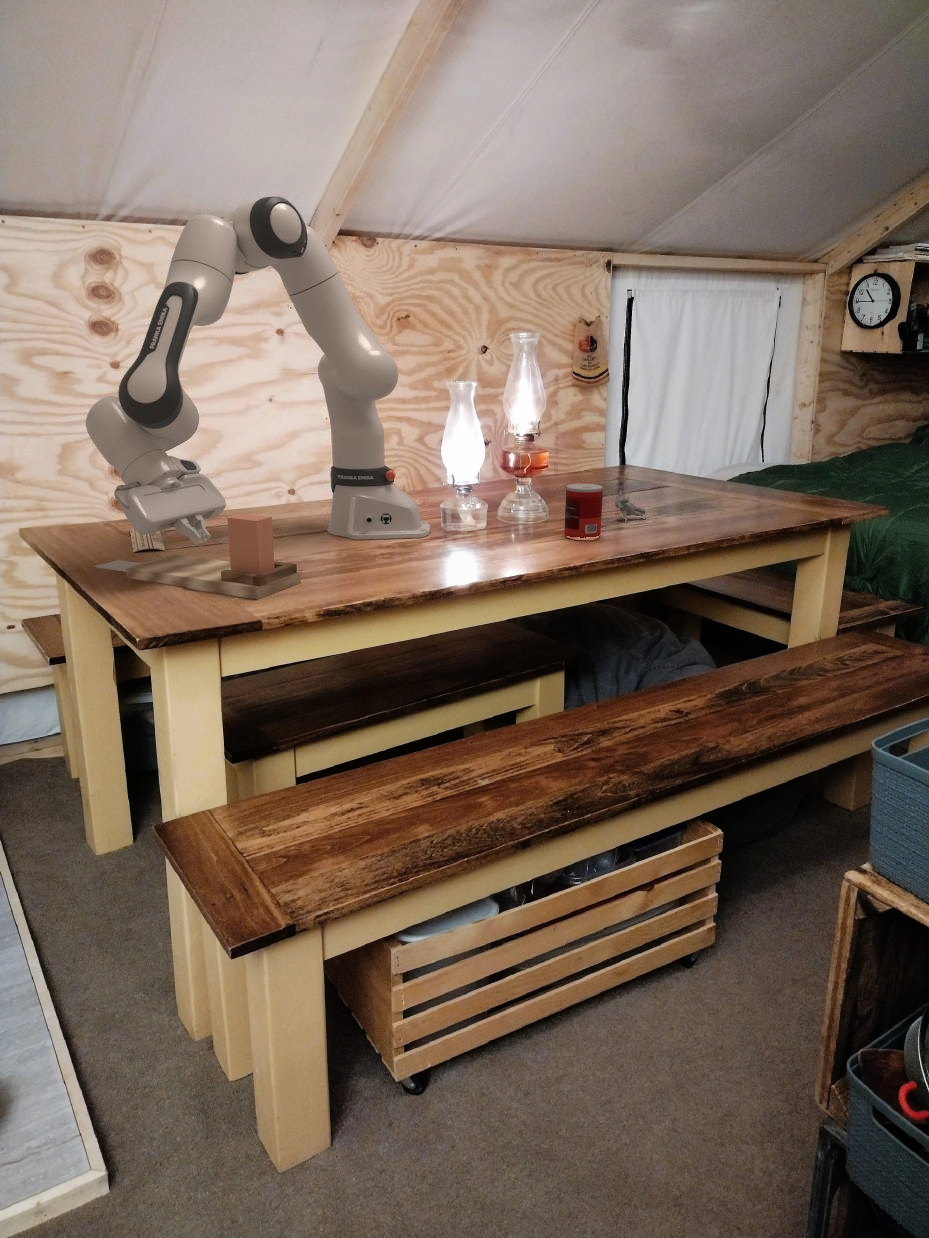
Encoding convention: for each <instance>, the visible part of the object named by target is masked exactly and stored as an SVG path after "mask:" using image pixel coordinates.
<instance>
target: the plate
mask: <svg viewBox="0 0 929 1238" xmlns="http://www.w3.org/2000/svg"><path fill="white" fill-rule="evenodd" d="M142 563H143V562H142ZM142 563H141V562H136V561H135V562H134V561H127V560H120V559H116V560H113V561H109V562H106V563H102V564H99V565H95V566H93V568H97V569H104V570H111V571H118V572H124V573H126V568H128V567H131V566H135V565H138V564H142Z"/></svg>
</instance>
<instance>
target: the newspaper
mask: <svg viewBox="0 0 929 1238" xmlns="http://www.w3.org/2000/svg"><path fill="white" fill-rule="evenodd" d="M130 535H131V536H130ZM129 536H130V540H131V548H132V553H135V554H136V553H138V552H140V551H141V552H142V551H144V550H159V551H161V552H163V551H166V549H165V546H164V542H163V538H162V534H161V531H158V532H154V533H150V534H146V535H142V534H140V533H138V532H137V531H136V530H135V529H134V528H133V527H131V528H129Z"/></svg>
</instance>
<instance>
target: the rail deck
mask: <svg viewBox="0 0 929 1238" xmlns="http://www.w3.org/2000/svg"><path fill="white" fill-rule="evenodd" d="M274 567H275V569H272V570H269V571H266V572H263V573H260V574H254V573H247V572H240V571H233V570H231V564H230V561H226V560H221V559H219V560H218V559H212V558H207V557H206V558H204V557H197V556H191V555H181V554H175V553H173V554H171V555H166V556H163V557H159V558H157V559H152V560H149V561H145V562H142V564H138V565H135V566H131V567H128V568H126V572H125V574H126V578H127V579H133V580H138V581H143V582H144V581H146V582H152V583H158V584H165V585H171V586H177V587H182V589H187V590H195V591H200V592H206V593H214V594H220V595H225V596H226V595H227V596H233V597H237V598H238V597H239V598H245V599H251V600H261V599H263V598H265V597H269V596H271V595H273V594H276V593H278V592H281V591H283V590H286V589H288V588H291V587H293V586H296V585H299V584H301V583H302V581H301V580H302V579H301V571H300V570H299V571H298V567H297V563H291V562H290V563H288V562H283V561H275V560H274Z"/></svg>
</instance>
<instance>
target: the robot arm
mask: <svg viewBox="0 0 929 1238" xmlns="http://www.w3.org/2000/svg"><path fill="white" fill-rule="evenodd" d="M268 267H271V268H272V269H274V270H275V271H276V272H277V274H278V275H279V276H280V279H281V281H282V284H283V286H284V289H285V291H286V293H287V295H288V297H289V300H290V301H291V303H292V305H293V307H294V309H295V311H296V313H297V315H298V317H299V319H300V321H301V323H302V325H303V327H304V329H305V331H306V333H307V334H308V335H309V336H310V337H311V338H312V339H313V341H314V342H315V343H316V344H317V346H319V348H320V350H321V351H322V353H323V355H322V356H321V357H320V360H319V362H318V365H317V375H318V379H319V381H320V383H321V386H322V389H323V393H324V399H325V404H326V408H327V413H328V418H329V422H330V428H331V429H330V430H331V448H332V449H331V453H332V454H331V455H332V465H331V467H330V489H331V493H332V499H331V501H332V502H331V511H330V517H329V522H328V527H327V528H326V529H327V530H326V532H327V533H329V534H331V535H335V536H340V537H345V538H347V539H351V540H357V541H358V540H374V539H375V540H380V539H381V540H382V539H408V538H409V539H412V538H413V539H414V538H423V537H427V536H428V535H430V534H431V531H432V529H431V525H430V523H429V522H426V521H423V520H422V517H421V511H420V507H419V504H418V503H417V501H416V500H415V499H414V498H413V497H411V495H409V494H408V493H406V492H405V491H404V490H403V489H402V488H400V487H399V486H397V484H395V479H396V472H395V470H394V469H393V468H392V467H391V468H390V467H388V466H387V465H386V464H385V431H384V430H385V429H384V426H383V424H382V422H381V419H380V417H379V414H378V413H379V412H378V409H377V405H376V401H378V400H381V399H384V398H386V397H387V396H389V395H390V394H392V392H393V391H395V390H394V389H396V387H397V384H398V381H399V369H398V366H397V362H396V361H395V359H394V358H393V357H392V355H390V354H389V353H388V352H387V351H386V350H385V349H384V348H383V346H382V345H381V343H380V342H379V340H378V339H377V337H376V336H375V334H374V332H373V331H372V329H370V327H369V325H368V324H367V322H366V321H365V320H364V318H363V316H362V315H361V314H360V312H359V310H358V308H357V307H356V305H355V302H354V301H353V298H352V296H351V294H350V292H349V290H348V288H347V286H346V284H345V282H344V280H343V277H342V276H341V274H340V271H339V269H338V268H337V265H336V263H335V261H334V260H333V257H332V255H331V254H330V252H329V251H328V249H327V247H326V245H325V244H324V242H323V240H321V238H320V236H319V235H318V234H317V233H316V231H315V230H314V229H313V227H310V226H309V225H307V224H306V223H305V222H304V219H303V217H302V215H301V213H300V212H299V211H298V209H297V208H296V207H295V205H293V204H292V202H290V201H289V200H287V199H286V198H285V197H281V196H266V197H261V198H259V199H257V200H256V201H252V202H248V203H246V204H243V205H240V206H239V207H237V208H236V209H235V210H233V211H232V212H230V213H228V214H227V215H225V216H223V217H222V216H221V217H218V216H216V215H214V214H209V213H201V214H197V215H194V216H192V217H191V218H190V219H188V221H187V222H186V224H185V226H184V228H183V229H182V232H181V233H180V235H179V238H178V240H177V243H176V246H175V247H174V251H173V254H172V257H171V260H170V263H169V268H168V272H167V275H166V280H165V282H164V283H165V284H164V287H163V290H162V292H161V294H160V295H159V298H158V300H157V303H156V306H155V308H154V311H153V314H152V317H151V320H150V323H149V326H148V329H147V331H146V335H145V337H144V340H143V343H142V346H141V349H140V351H139V353H138V356H137V357H136V359H135V360H134V362H133V363H132V365H130V367H129V368H128V369H127V371H126V372H125V373H124V375H123V377H122V378H121V380H120V383H119V386H118V392H117V393H118V396H114V395H109V396H105V397H102V398H100V399H99V400H97V401H96V402H95V403H94V404H93V405H92V406H91V408H90V409H89V410H88V413H87V414H86V418H85V427H86V431H87V434H88V436H89V437H90V440H91V442H92V443H93V444H94V446H95V447H96V449H97V450H98V452H99V454H101V456H102V457H103V458H104V460H105V461H106V462H107V464H109V465H110V466H111V467H112V468H114V469H115V470H116V471H117V473H118V475H119V477H120V479H121V481H122V482H123V483H124V484H120V485H118V486H116V488H115V490H113V491H114V495H113V496H114V498H115V499H116V501H117V502H118V503H119V505H120V508H121V510H122V513H124V516H125V517H126V519H127V520H128V522H129V524H130V525H131V527H132V528H134V529H135V530H136V531H137V532H138V533H140V534H142V535H146V534H150V533H154V532H158V531H160V532H162V531H165V530H170V529H173V528H174V529H175V530H176V532H177V533H179V534H181V535H183V536H184V537H186V538H187V539H189V540H190V541H191V542H192V544H193V545H198V544H201V543H205V542H208V540H209V539H211V534H210V532H209V531H208V530H207V528H206V524H205V521H206V520H210V519H214V518H217V517H219V516H220V514H222V512H223V511H224V510H225V509H226V507H227V505H226V499H225V497H224V496H223V494H222V493H221V492H220V490H219V488H217V487H216V485H215V484H214V483H213V482H212V480H211V479H209V477H207V476H206V475H204V474H203V473H200V472H201V470H202V468H201V466H200V465H199V464H198V462H197V461H194V460H188V459H182V458H178V457H175V456H172V455H168V453H167V452H168V451H170V450H173V449H174V448H176V447H178V446H180V445H181V444H183V443H185V442H186V441H188V440H190V439H191V438H192V437H193V435H194V434H195V433H196V431H197V429H198V427H199V423H200V414H199V411H198V409H197V408H198V407H197V406H196V405H195V404H194V402H193V400H192V399H191V397H189V394H187V392H186V390H184V388H183V385H182V382H181V378H180V365H181V361H182V358H183V356H184V355H183V354H184V352H185V348H186V346H187V342H188V340H189V337H190V333H191V331H192V329H193V328H194V327H195V326H197V327H206V326H210V325H213V324H215V323H217V322H218V321H219V320H220V319H221V318H222V317H223V314H224V313H225V310H226V308H227V306H228V303H229V302H230V301H229V300H230V297H231V293H232V289H233V285H234V281H235V276H240V275H246V274H249V273H250V272H255V271H259V270H263V269H265V268H266V269H267V268H268Z"/></svg>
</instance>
